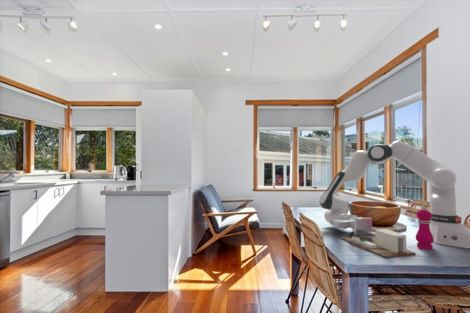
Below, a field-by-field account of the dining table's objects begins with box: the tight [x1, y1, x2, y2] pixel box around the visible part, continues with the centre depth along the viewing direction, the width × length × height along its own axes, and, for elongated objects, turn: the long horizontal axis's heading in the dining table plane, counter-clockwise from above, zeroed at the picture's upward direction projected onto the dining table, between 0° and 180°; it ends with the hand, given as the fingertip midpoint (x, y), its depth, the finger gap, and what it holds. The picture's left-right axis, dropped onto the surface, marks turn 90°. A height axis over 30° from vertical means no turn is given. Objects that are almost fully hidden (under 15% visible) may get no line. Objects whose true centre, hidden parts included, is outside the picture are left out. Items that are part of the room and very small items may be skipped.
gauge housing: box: [375, 228, 407, 253], centre depth 127 cm, size 12×6×8 cm, turn 13°
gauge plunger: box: [352, 217, 376, 238], centre depth 135 cm, size 20×14×10 cm
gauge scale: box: [351, 236, 377, 248], centre depth 134 cm, size 14×3×2 cm, turn 13°
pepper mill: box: [415, 206, 435, 251], centre depth 131 cm, size 7×7×20 cm
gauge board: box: [340, 236, 417, 259], centre depth 133 cm, size 30×17×1 cm, turn 13°
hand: (358, 226), depth 148 cm, fingers closed
